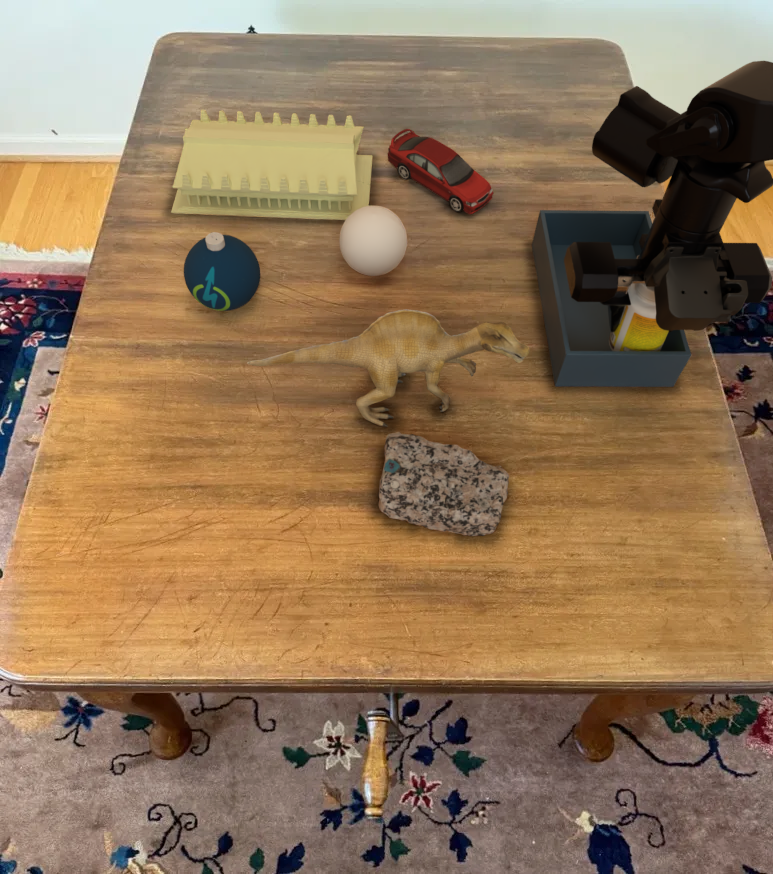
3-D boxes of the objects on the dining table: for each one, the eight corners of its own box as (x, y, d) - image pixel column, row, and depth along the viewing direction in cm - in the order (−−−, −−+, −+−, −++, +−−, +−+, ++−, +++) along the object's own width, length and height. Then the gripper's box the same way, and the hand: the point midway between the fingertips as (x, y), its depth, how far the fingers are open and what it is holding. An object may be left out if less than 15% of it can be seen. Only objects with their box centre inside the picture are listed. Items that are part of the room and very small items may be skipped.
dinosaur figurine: (514, 416, 78) (538, 332, 67) (262, 438, 76) (244, 356, 65) (499, 359, 83) (520, 272, 71) (260, 379, 81) (243, 292, 69)
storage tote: (673, 387, 81) (691, 355, 76) (554, 386, 81) (566, 354, 76) (634, 245, 93) (648, 210, 88) (531, 245, 93) (539, 209, 88)
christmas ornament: (176, 305, 86) (156, 239, 78) (225, 263, 90) (210, 196, 82) (231, 337, 84) (216, 273, 75) (279, 293, 87) (269, 227, 79)
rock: (368, 521, 72) (368, 499, 68) (386, 446, 76) (387, 422, 72) (497, 546, 70) (505, 525, 67) (508, 469, 75) (515, 445, 71)
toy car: (413, 150, 102) (415, 118, 98) (494, 204, 97) (500, 172, 92) (384, 168, 100) (384, 135, 96) (465, 224, 94) (470, 192, 90)
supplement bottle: (670, 354, 80) (701, 287, 72) (627, 373, 79) (654, 307, 71) (638, 320, 83) (665, 251, 75) (597, 337, 82) (619, 269, 73)
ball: (336, 288, 88) (334, 236, 81) (343, 241, 92) (341, 188, 86) (404, 292, 88) (407, 240, 81) (407, 245, 92) (410, 192, 86)
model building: (372, 155, 102) (372, 107, 96) (367, 222, 94) (367, 175, 88) (190, 148, 102) (179, 99, 96) (171, 214, 94) (157, 167, 88)
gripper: (603, 276, 61) (562, 389, 74) (827, 277, 62) (747, 390, 75) (582, 188, 67) (548, 307, 80) (786, 189, 68) (719, 308, 81)
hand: (639, 329), depth 79 cm, fingers closed on supplement bottle, 6 cm apart
